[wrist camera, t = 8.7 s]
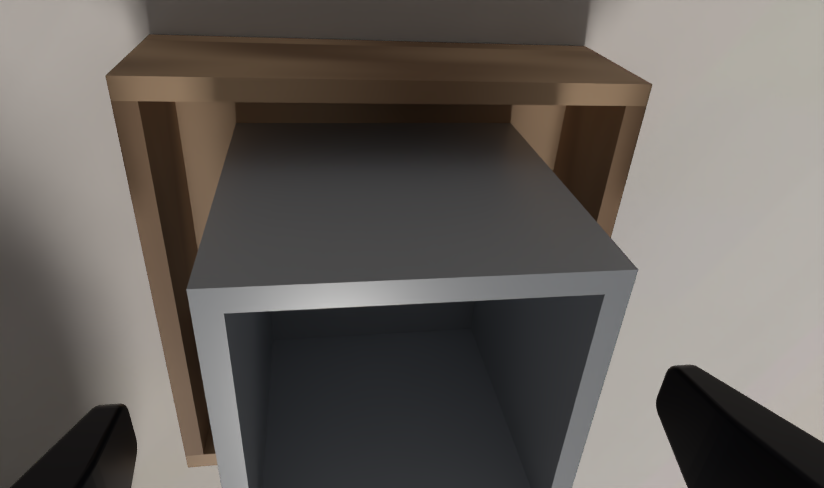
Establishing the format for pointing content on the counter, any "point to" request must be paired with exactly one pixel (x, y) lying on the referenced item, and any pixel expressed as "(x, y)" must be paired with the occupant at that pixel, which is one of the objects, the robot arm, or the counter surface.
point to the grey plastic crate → (401, 309)
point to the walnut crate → (340, 103)
